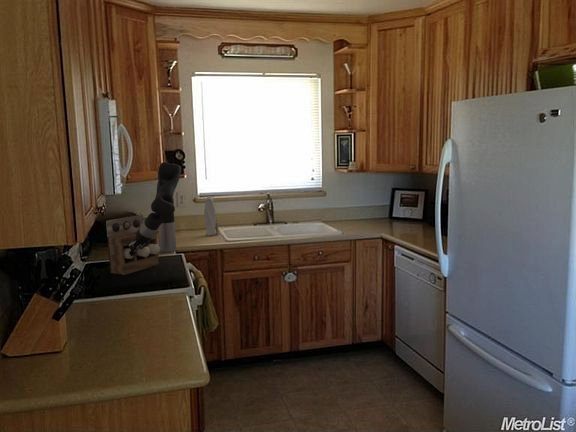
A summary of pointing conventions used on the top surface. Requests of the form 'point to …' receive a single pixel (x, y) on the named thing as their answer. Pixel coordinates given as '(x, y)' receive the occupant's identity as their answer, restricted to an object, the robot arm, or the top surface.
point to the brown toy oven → (119, 238)
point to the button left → (127, 253)
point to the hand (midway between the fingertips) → (131, 254)
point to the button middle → (143, 252)
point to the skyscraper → (210, 217)
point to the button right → (153, 248)
